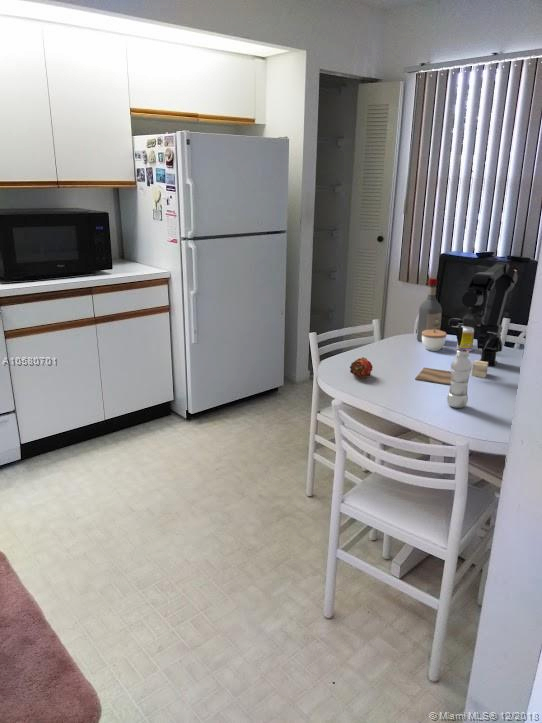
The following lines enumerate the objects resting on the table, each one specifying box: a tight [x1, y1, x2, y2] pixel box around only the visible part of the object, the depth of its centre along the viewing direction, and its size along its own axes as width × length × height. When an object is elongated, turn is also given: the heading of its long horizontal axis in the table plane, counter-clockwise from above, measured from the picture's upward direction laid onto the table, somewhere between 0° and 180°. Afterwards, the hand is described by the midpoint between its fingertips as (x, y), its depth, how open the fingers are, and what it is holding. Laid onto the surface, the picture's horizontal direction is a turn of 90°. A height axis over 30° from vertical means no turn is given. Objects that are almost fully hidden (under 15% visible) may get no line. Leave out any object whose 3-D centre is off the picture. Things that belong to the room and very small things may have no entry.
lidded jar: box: [421, 329, 447, 352], centre depth 241 cm, size 11×11×9 cm
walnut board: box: [415, 367, 451, 386], centre depth 208 cm, size 14×14×1 cm
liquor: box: [416, 277, 443, 343], centre depth 250 cm, size 9×9×30 cm
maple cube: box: [471, 359, 489, 378], centre depth 209 cm, size 5×5×5 cm
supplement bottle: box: [456, 326, 475, 352], centre depth 238 cm, size 7×7×13 cm
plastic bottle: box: [446, 349, 473, 409], centre depth 178 cm, size 6×7×20 cm
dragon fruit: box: [349, 356, 374, 379], centre depth 208 cm, size 8×8×12 cm
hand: (470, 347), depth 204 cm, fingers open, 9 cm apart
